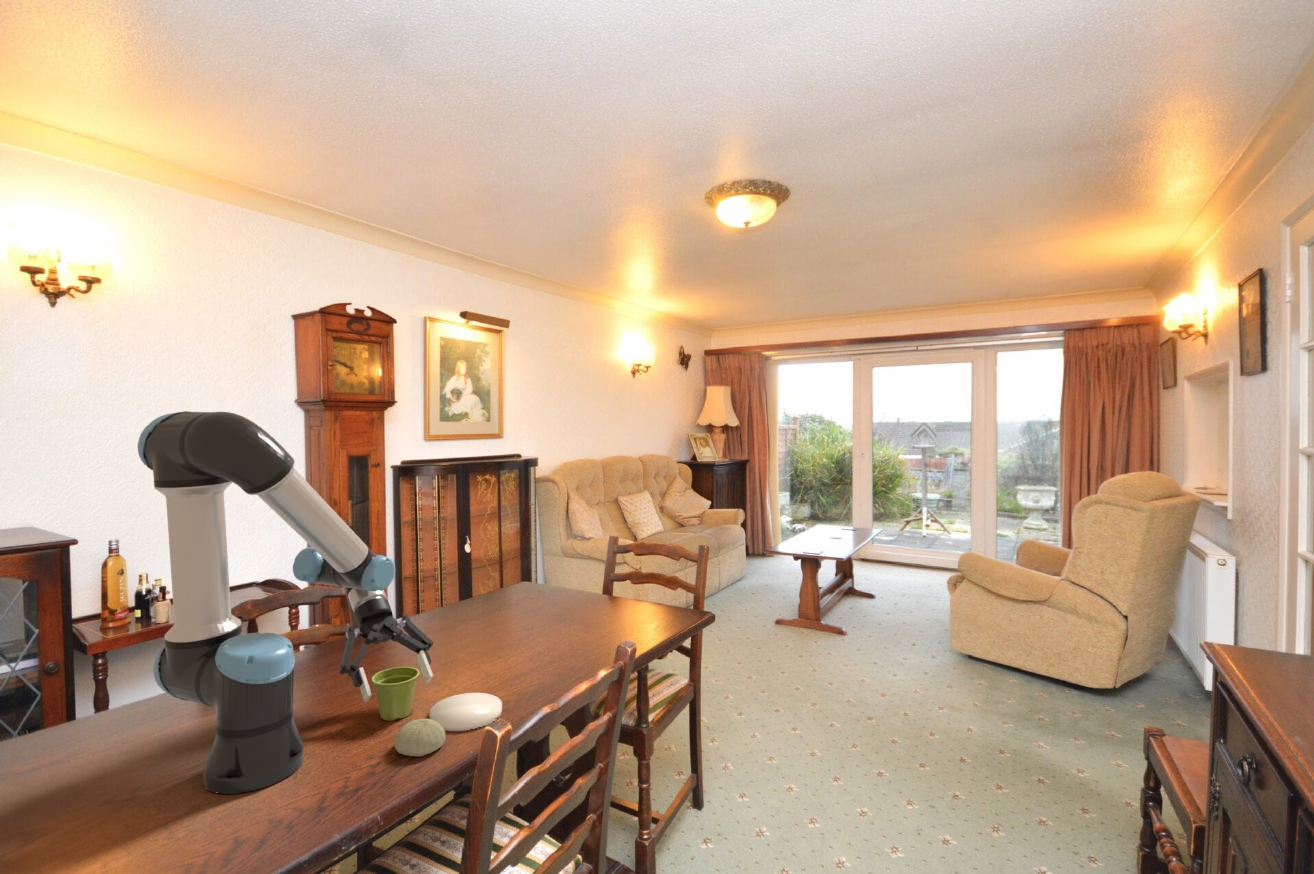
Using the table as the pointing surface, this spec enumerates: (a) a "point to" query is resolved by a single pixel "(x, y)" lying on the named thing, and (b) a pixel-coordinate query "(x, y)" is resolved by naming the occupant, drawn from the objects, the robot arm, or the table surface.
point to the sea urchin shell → (420, 737)
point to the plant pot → (395, 691)
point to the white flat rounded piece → (466, 711)
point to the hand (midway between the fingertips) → (400, 688)
